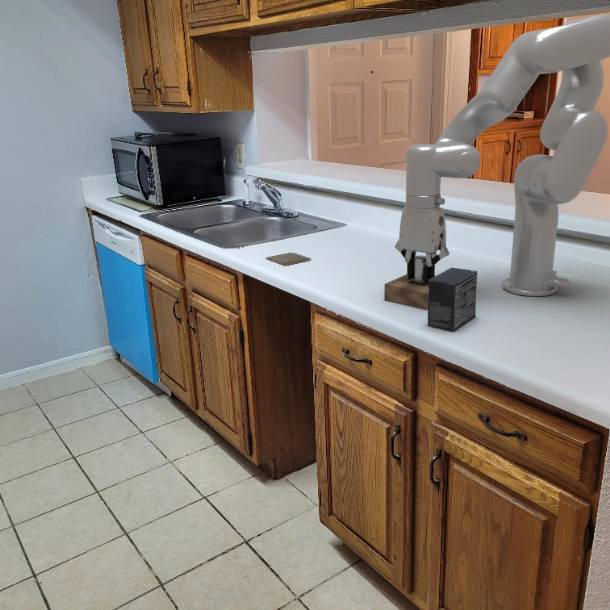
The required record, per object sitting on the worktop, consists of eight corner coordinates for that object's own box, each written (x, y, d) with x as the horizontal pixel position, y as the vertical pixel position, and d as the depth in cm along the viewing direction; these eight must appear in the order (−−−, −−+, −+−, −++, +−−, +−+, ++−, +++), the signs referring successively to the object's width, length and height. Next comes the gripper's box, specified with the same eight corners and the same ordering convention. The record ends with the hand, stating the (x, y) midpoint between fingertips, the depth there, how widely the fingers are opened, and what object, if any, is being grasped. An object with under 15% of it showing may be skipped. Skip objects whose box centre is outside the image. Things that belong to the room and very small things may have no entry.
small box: (448, 311, 134) (450, 266, 131) (476, 317, 130) (479, 270, 127) (425, 326, 127) (427, 278, 123) (454, 332, 123) (456, 283, 119)
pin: (428, 297, 143) (430, 256, 140) (422, 301, 141) (423, 259, 138) (417, 295, 145) (418, 254, 141) (411, 298, 143) (412, 257, 139)
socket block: (455, 295, 143) (455, 279, 142) (429, 310, 135) (430, 293, 134) (411, 287, 151) (411, 271, 150) (384, 300, 142) (384, 284, 141)
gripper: (464, 202, 133) (460, 281, 139) (400, 196, 143) (398, 270, 149) (448, 208, 127) (444, 290, 134) (382, 201, 138) (381, 277, 144)
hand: (420, 278), depth 141 cm, fingers open, 3 cm apart
